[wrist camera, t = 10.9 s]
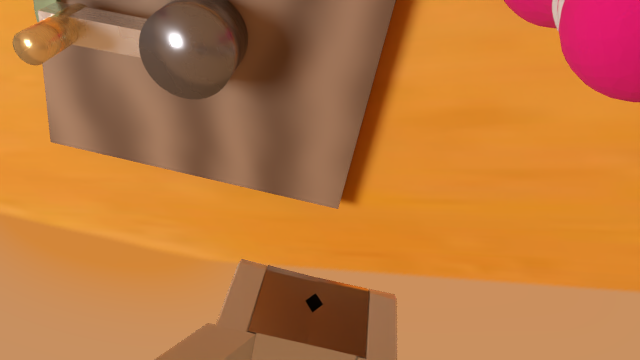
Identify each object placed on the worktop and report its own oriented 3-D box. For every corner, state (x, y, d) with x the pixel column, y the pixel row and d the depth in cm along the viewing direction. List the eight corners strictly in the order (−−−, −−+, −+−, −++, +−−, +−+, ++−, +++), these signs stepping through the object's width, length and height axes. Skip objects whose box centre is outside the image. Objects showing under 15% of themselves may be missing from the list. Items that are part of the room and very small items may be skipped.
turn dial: (251, -2, 34) (221, 33, 28) (244, 83, 38) (216, 130, 32) (64, -37, 34) (-6, -10, 28) (74, 50, 38) (13, 91, 32)
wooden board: (428, -124, 31) (430, -121, 29) (339, 198, 44) (337, 213, 42) (28, -220, 31) (5, -224, 29) (60, 133, 44) (46, 145, 42)
